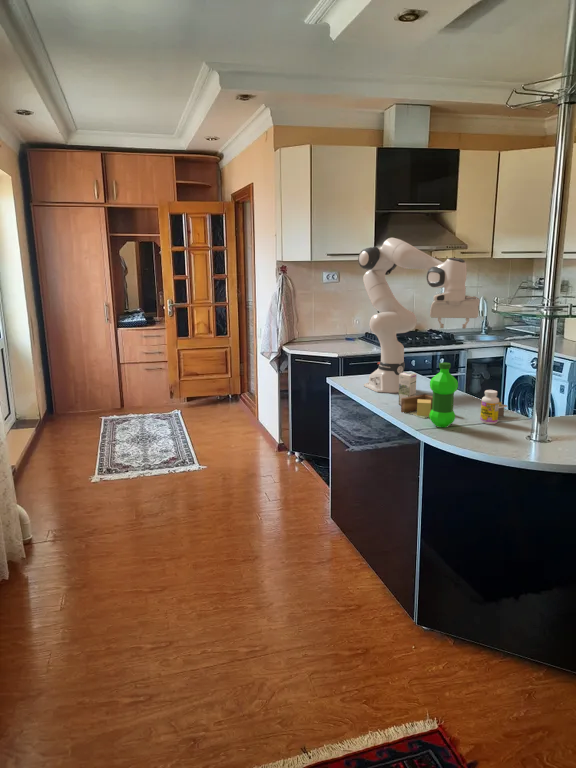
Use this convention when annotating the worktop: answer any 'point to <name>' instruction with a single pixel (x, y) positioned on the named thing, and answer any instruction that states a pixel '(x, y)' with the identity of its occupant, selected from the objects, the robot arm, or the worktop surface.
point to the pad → (419, 415)
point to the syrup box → (407, 385)
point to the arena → (413, 402)
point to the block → (423, 407)
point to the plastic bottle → (443, 396)
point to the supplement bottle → (489, 407)
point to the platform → (501, 409)
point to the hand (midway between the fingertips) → (452, 328)
